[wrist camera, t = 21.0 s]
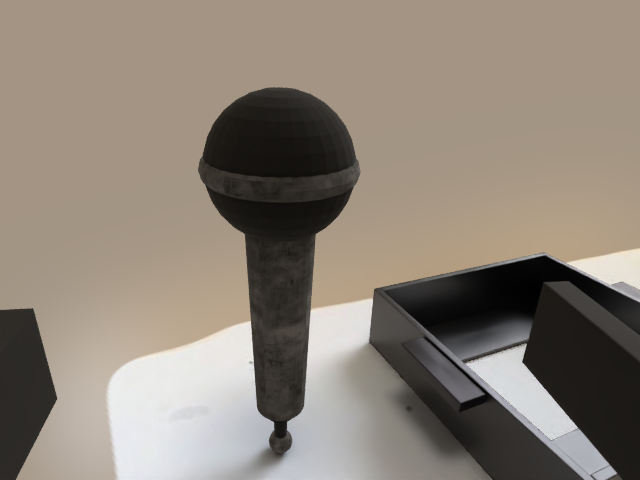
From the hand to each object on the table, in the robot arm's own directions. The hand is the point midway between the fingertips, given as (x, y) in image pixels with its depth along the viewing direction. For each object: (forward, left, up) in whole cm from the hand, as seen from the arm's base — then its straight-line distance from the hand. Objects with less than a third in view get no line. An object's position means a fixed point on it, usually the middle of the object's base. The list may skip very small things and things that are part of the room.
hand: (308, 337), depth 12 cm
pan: (-22, -7, -15) cm, 27 cm away
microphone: (-2, -9, -15) cm, 17 cm away
